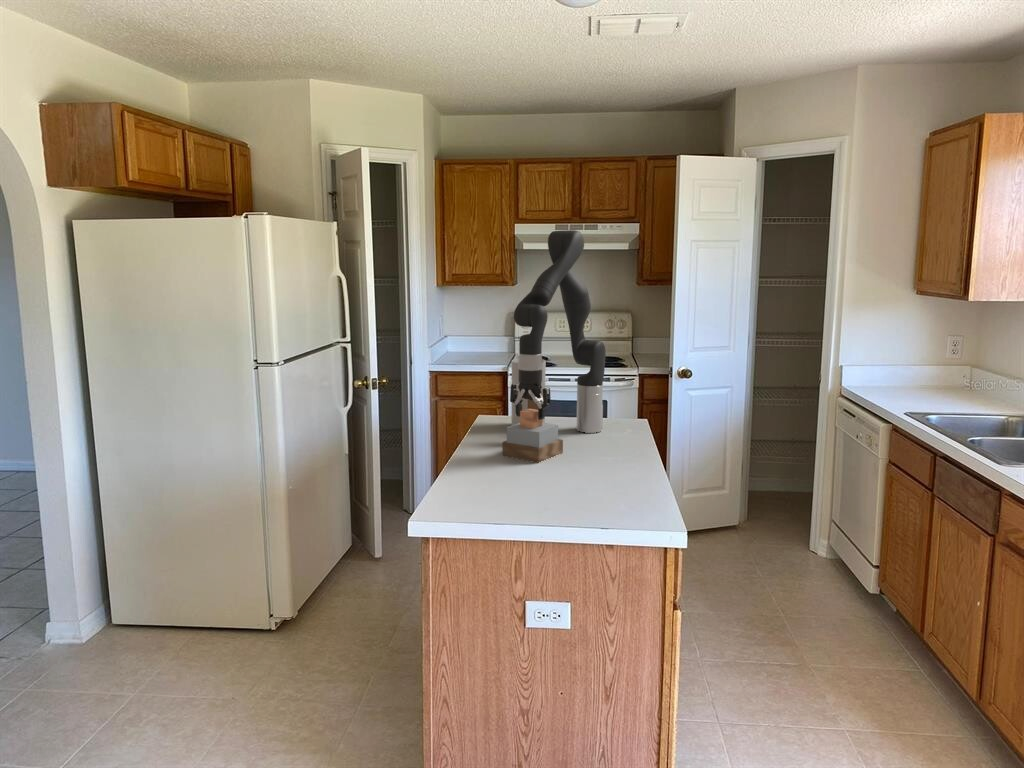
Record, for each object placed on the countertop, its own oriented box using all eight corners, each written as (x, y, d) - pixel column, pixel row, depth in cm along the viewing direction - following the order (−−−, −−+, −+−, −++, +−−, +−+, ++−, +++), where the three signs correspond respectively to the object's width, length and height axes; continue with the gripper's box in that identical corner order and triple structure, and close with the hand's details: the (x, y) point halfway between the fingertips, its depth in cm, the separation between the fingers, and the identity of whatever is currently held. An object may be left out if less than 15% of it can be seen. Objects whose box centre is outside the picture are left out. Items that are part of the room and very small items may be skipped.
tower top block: (526, 434, 245) (526, 420, 245) (558, 439, 239) (558, 424, 238) (506, 442, 236) (506, 427, 235) (539, 448, 229) (539, 432, 228)
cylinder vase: (550, 425, 278) (551, 360, 274) (534, 432, 268) (534, 364, 263) (522, 421, 285) (522, 357, 280) (505, 428, 274) (505, 361, 270)
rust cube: (529, 423, 240) (529, 408, 239) (541, 425, 237) (542, 410, 236) (520, 426, 236) (520, 411, 235) (532, 428, 233) (532, 413, 232)
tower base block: (527, 447, 248) (527, 433, 247) (562, 454, 240) (563, 439, 239) (502, 457, 237) (502, 442, 236) (538, 464, 229) (538, 448, 228)
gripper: (555, 368, 232) (555, 418, 235) (519, 364, 240) (519, 412, 243) (542, 371, 226) (541, 423, 229) (505, 367, 235) (505, 416, 237)
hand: (530, 417), depth 236 cm, fingers open, 8 cm apart
